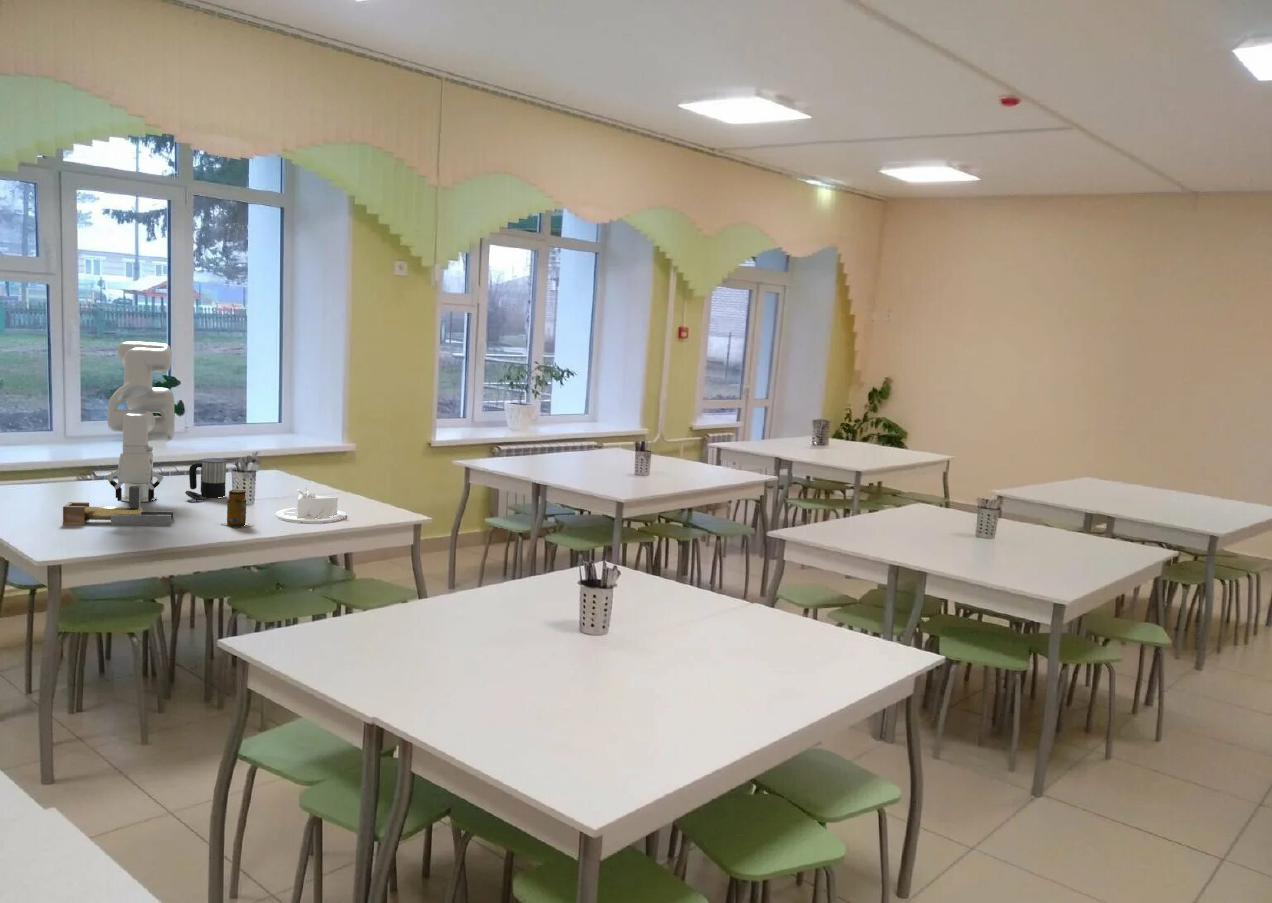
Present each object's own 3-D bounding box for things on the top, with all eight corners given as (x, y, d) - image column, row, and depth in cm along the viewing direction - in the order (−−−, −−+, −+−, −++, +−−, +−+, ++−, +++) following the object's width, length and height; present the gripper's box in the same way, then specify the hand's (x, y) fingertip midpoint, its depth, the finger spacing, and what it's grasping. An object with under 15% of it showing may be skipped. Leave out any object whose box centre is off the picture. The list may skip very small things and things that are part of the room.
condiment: (239, 521, 337) (239, 488, 336) (254, 526, 333) (255, 492, 331) (220, 524, 331) (221, 490, 330) (235, 528, 327) (236, 494, 325)
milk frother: (227, 494, 382) (227, 458, 380) (224, 502, 368) (225, 464, 366) (187, 494, 377) (188, 457, 375) (184, 502, 363) (184, 463, 361)
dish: (272, 523, 339) (273, 492, 338) (278, 509, 363) (278, 480, 362) (345, 524, 346) (346, 494, 345) (345, 510, 370) (346, 482, 369)
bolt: (76, 518, 321) (76, 484, 320) (142, 518, 327) (142, 485, 326) (72, 521, 317) (72, 487, 315) (140, 521, 323) (140, 488, 322)
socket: (69, 519, 322) (69, 502, 321) (89, 519, 324) (89, 502, 323) (63, 524, 314) (63, 506, 314) (83, 524, 316) (83, 507, 316)
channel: (115, 520, 326) (115, 510, 326) (173, 520, 332) (173, 511, 332) (110, 525, 319) (110, 515, 318) (170, 525, 325) (170, 515, 324)
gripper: (165, 449, 328) (164, 498, 330) (108, 447, 322) (108, 497, 325) (162, 452, 321) (161, 502, 323) (103, 450, 315) (103, 502, 317)
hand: (134, 500), depth 324 cm, fingers open, 9 cm apart
